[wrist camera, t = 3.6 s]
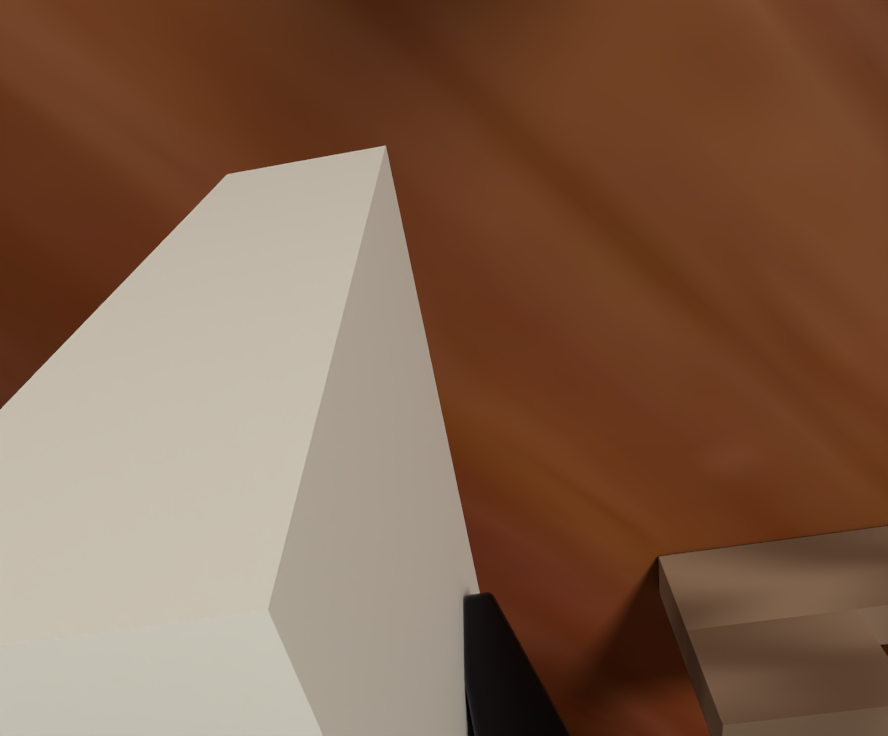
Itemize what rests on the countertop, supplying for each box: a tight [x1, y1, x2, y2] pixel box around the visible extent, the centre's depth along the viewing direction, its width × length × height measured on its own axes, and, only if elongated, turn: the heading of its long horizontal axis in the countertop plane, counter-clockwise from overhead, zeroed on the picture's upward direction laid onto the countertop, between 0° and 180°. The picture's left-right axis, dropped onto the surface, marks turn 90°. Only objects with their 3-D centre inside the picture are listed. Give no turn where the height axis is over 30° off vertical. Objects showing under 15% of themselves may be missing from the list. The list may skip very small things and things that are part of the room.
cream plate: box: [0, 146, 480, 736], centre depth 8 cm, size 12×2×7 cm, turn 10°
